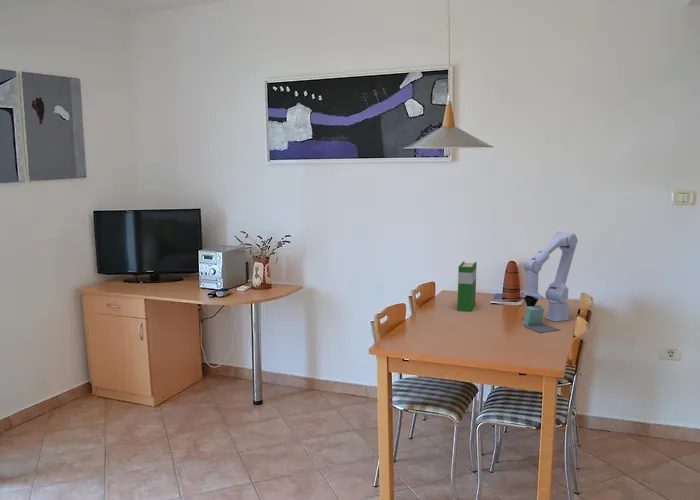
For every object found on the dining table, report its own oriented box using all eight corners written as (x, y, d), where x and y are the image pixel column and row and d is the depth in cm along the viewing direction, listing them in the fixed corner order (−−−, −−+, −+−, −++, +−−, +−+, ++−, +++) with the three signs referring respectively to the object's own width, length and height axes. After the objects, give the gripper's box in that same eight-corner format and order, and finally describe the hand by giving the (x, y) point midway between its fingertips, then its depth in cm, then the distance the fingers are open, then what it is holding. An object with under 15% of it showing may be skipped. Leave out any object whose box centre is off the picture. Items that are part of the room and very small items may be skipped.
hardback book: (461, 303, 341) (463, 261, 337) (475, 304, 338) (476, 262, 335) (457, 310, 324) (458, 266, 321) (471, 312, 322) (472, 267, 318)
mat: (544, 324, 297) (544, 323, 297) (560, 330, 287) (560, 329, 287) (524, 327, 292) (524, 326, 292) (539, 333, 282) (539, 332, 282)
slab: (535, 321, 300) (539, 305, 296) (540, 324, 296) (544, 308, 293) (522, 323, 297) (526, 306, 293) (527, 326, 293) (531, 310, 290)
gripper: (515, 282, 300) (514, 308, 302) (534, 287, 287) (533, 315, 289) (527, 280, 303) (526, 307, 305) (546, 286, 289) (545, 314, 291)
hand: (530, 311), depth 297 cm, fingers closed
